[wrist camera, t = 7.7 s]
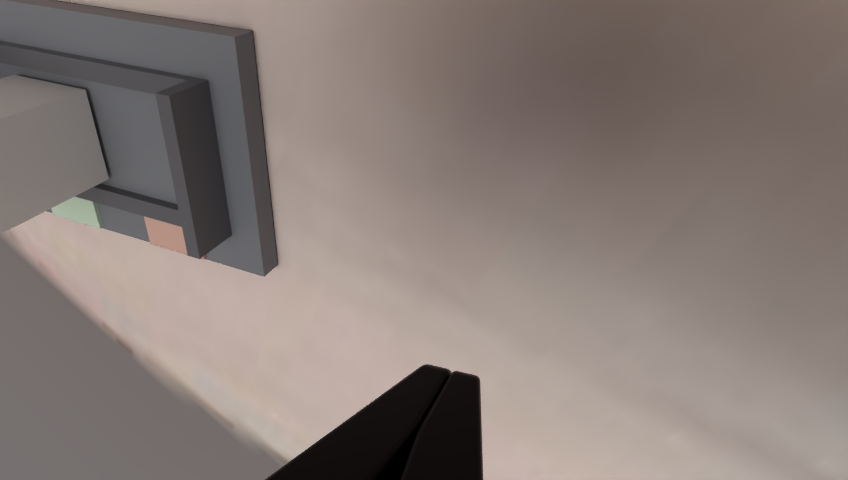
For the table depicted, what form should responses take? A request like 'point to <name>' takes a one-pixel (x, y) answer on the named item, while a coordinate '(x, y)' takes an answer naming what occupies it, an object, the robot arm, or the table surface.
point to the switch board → (158, 124)
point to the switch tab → (44, 148)
